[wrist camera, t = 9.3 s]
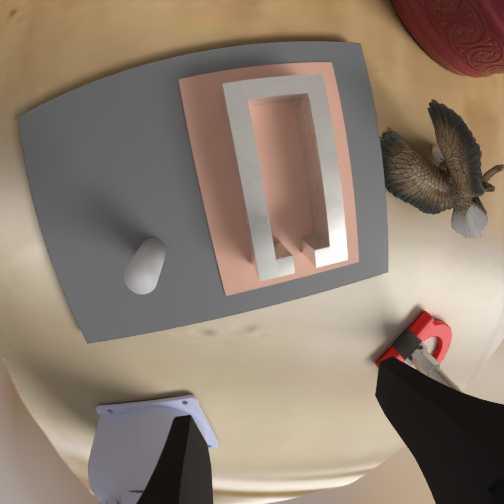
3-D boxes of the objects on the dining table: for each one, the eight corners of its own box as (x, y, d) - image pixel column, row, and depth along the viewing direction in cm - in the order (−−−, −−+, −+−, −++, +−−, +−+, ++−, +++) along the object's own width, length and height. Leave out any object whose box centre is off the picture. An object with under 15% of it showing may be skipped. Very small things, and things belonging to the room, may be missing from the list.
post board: (91, 335, 19) (70, 380, 14) (25, 118, 13) (-20, 112, 8) (381, 267, 21) (421, 295, 16) (353, 47, 15) (394, 24, 10)
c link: (252, 264, 18) (260, 281, 15) (219, 94, 14) (222, 83, 12) (329, 246, 18) (347, 259, 16) (305, 83, 15) (322, 73, 12)
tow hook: (453, 336, 26) (427, 299, 23) (525, 404, 14) (527, 383, 11) (402, 391, 27) (365, 367, 24) (462, 469, 16) (440, 472, 12)
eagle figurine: (475, 134, 17) (416, 76, 14) (527, 195, 13) (491, 139, 10) (423, 193, 23) (355, 159, 19) (462, 258, 18) (399, 237, 15)
